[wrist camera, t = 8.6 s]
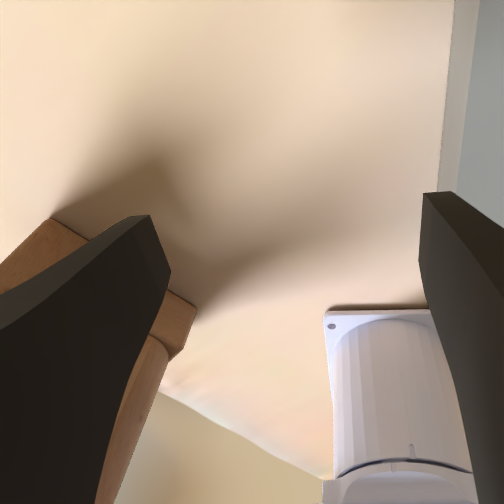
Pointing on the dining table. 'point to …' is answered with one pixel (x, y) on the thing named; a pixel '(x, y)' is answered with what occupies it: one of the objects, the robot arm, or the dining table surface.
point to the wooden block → (149, 360)
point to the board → (475, 109)
